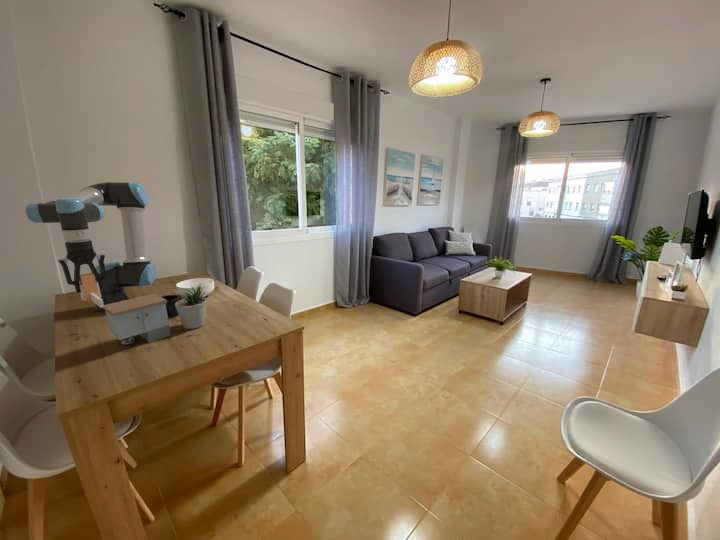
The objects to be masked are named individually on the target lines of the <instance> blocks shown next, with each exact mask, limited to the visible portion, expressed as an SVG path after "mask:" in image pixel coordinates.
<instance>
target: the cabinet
mask: <svg viewBox="0 0 720 540" xmlns="http://www.w3.org/2000/svg"><path fill="white" fill-rule="evenodd" d="M165 303H167V300H166V299H164V298H162V296H159V294H156V293H152V294H146V295H143V296H139V297H138V296H137V297H133V298H130V299H129V300H124V301H120V302H115V303H111V304H106V305H104V307H103V309H104V310H105V311H104V312H105V316H106V320H107V324H108V329H109V332H110V333H111V334H112V335H113V336H114V337H115V338H117V339H118V340H119V341H122V340H123V339H126V338H133V337H134V336H137V335H138V336H140V337H141V338H142V339H144V340H145V341H146V342H148V343H149V344H150V343H153V342H156V341H160V340H162V339H165V338H168V337H171V329H170V322H169V318H168V316H167V310H166V304H165Z"/></svg>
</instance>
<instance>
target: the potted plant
mask: <svg viewBox="0 0 720 540" xmlns="http://www.w3.org/2000/svg"><path fill="white" fill-rule="evenodd" d="M190 286H191V285H190ZM191 287H192V286H191ZM192 289H193V290H194V288H193V287H192ZM202 289H203V287H202ZM202 289H201V285H199V287H198V286H197V291H195V290H194V294H193V293H192V292H190V291H189V292H190V293H191V294H192V295H190V294H189V293H187V292H186V291H188V290H186V291H185V289H184V291H185V292H186V293H184V294H178V296H179V298H181V300H180V299H179V301H178V302H176V303H175V307H176V309H177V311H178V314H179V315H178V317H179V320H180V323H181V325H182V327H183V328H184V329H187V330H194V329H198V328H201V327H203V326H204V325H205V323H206V314H207V313H206V309H207V299H206V297H207V296H208V295H206V296H205V297H202V296H203V295H204V294H205V293H204V294H203V292H202V295H201V291H202ZM182 290H183V289H182ZM200 290H201V291H200ZM181 293H183V292H181ZM186 294H187V295H186ZM181 295H182V296H184V295H185V296H184V297H186V296H187V297H186V298H184V297H182V296H181ZM200 295H201V296H200Z"/></svg>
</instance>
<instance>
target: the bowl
mask: <svg viewBox="0 0 720 540" xmlns="http://www.w3.org/2000/svg"><path fill="white" fill-rule="evenodd" d="M190 285H191V286H192V287H193V288H194V290H195V291H197V286H198V287H199V285H201V289H202V287H203V289H202V291H201V290H200V291H201V295H202V292H203V294H204V293H205V294H204V295H203V296H202V298H204V297H205V296H206V295H207V296H209V295H210V294H211V293H213V290H214V289H215V281H214V279H212V278H208V277H206V278H205V277H200V278H199V277H197V278H190V279H189V278H188V279H185V280H181V281H179V282H177V283H176V284H175V289H176V292H177V293H176V294H177V295H179V294H184V293H186V292H187V293H189V294H190V295H192V294H191V293H190V292H192V293H193V294H194V290H193V289H192V287H191V286H190ZM182 289H183V290H182ZM184 289H185V291H186V290H188V291H186V292H185V291H184ZM189 291H190V292H189ZM181 292H183V293H181ZM186 295H187V294H186ZM201 295H200V296H201ZM184 296H185V295H184ZM184 296H182V295H180V297H183V298H185V299H186V297H187V296H186V297H184ZM207 296H206V297H207ZM206 297H205V298H206Z"/></svg>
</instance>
